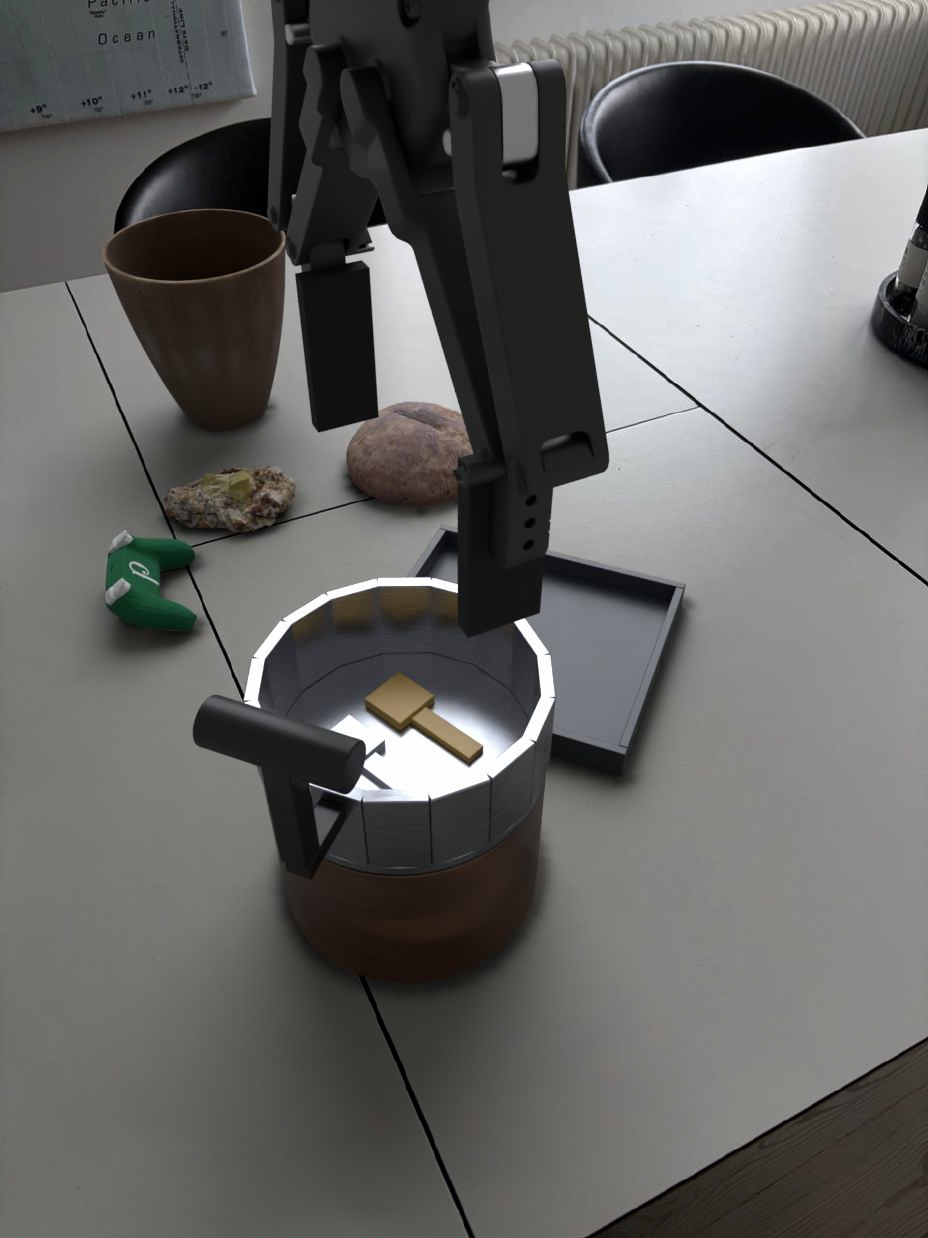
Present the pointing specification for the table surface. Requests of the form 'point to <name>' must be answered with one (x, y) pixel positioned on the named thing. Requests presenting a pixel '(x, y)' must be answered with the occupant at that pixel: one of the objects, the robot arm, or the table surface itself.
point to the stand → (419, 910)
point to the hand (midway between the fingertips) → (413, 509)
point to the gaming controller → (146, 581)
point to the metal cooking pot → (389, 729)
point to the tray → (590, 645)
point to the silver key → (376, 756)
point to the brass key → (419, 714)
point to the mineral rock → (232, 499)
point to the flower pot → (205, 307)
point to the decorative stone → (409, 454)
